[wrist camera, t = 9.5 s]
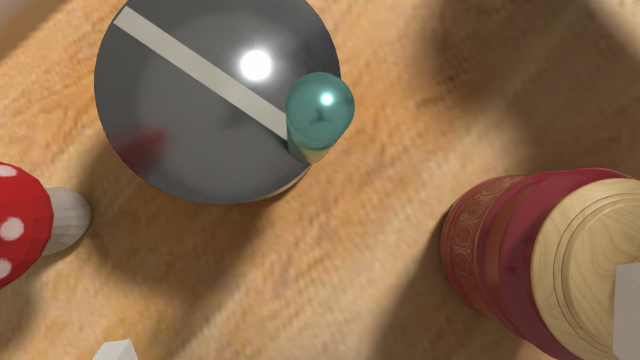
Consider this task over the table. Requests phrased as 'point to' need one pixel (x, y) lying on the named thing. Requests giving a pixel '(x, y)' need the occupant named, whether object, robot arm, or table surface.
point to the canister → (545, 255)
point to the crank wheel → (220, 95)
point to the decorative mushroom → (35, 221)
